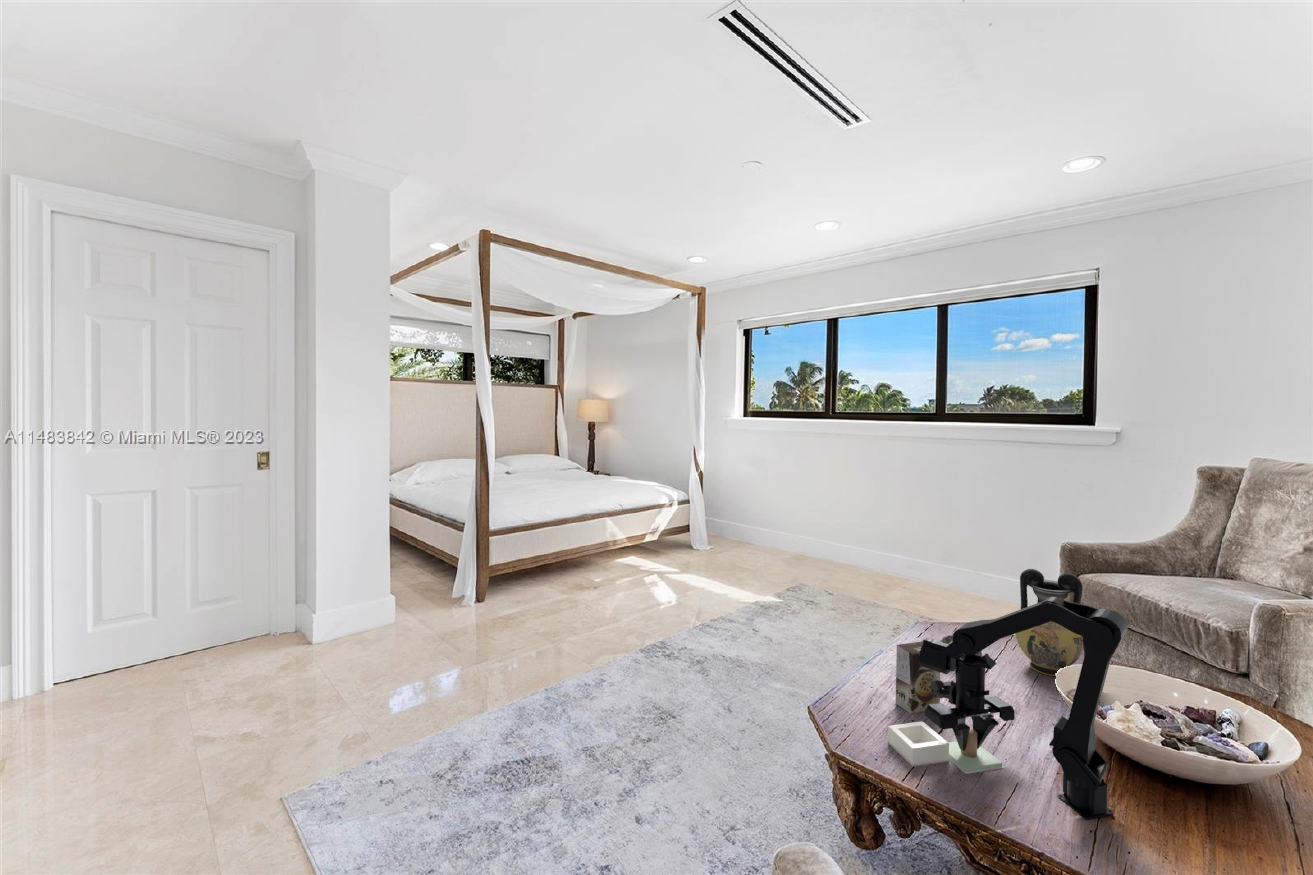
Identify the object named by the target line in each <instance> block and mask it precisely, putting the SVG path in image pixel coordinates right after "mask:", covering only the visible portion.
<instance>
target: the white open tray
mask: <svg viewBox="0 0 1313 875" xmlns="http://www.w3.org/2000/svg"><path fill="white" fill-rule="evenodd" d="M887 744H888V745H889V746H890V747H891V748H893V749H894V750H895V752H896V753H898V755H900V756H901V757H902V758H903V759H904V760H905V761H906V763H908V764H909V765H910V766H911V768H913V767H920V766H927V765H936V764H941V763H947V762H949V761H950V760H949V741H947V740H946V739H945V738H943V737H942V736H941V735H940V734H939V733H937V732H936V731H935V730H934V729H932V728H931V727H930V726H929V725H928V724H926V723H925V722H924V721H915V722H908V723H900V724H899V723H898V724H891V725H888V726H887Z"/></svg>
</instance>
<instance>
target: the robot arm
mask: <svg viewBox="0 0 1313 875" xmlns="http://www.w3.org/2000/svg"><path fill="white" fill-rule="evenodd" d="M1051 621H1052V622H1054V623H1057V624H1059V625H1061V626H1063V627H1064V628H1066V629H1068V630H1070V631H1071V632H1073V633H1075V634H1078V635H1081V636H1083V648H1084V649H1083V655H1084V657H1083V659H1082V660H1083V661H1082V664H1081V669H1080V673H1079V676H1078V680H1077V684H1076V688H1075V692H1074V696H1073V700H1072V704H1071V708H1070V712H1069V716H1068V718H1066V717H1064V716H1063V715H1061V716H1060V717H1059V718H1058V721H1057V722H1056V723H1055V725H1054V727H1053V735H1052V736H1053V737H1052V739H1051V741H1050V742H1049V744H1048V745H1049V747H1052V756H1053V757H1054V759H1055V760H1056V762H1057V763H1058V764H1059V765H1060V766H1061V769H1062V772H1063V773H1062V775H1063V776H1062V793H1058V794H1057V798H1058V799H1059V800H1061V801H1062V802H1063V803H1065V804H1066V805H1068V807H1070V808H1071V809H1073V810H1074V812H1077V813H1078V814H1079V815H1080V816H1081V817H1082V818H1084V819H1085V820H1091V819H1097V818H1104V817H1109V816H1114V811H1113V809H1111V808H1109V807H1108V783H1106V782H1105V779H1104V776H1105V773H1106V772H1107V770H1108V768H1109V765H1110V764H1109V762H1108V761H1107V760H1106V759H1105V757H1104V756H1103V755H1102V754H1101V753H1100V752H1099V751H1098V750H1097V749H1096V731H1095V730H1096V729H1095V721H1096V716H1097V712H1098V708H1099V706H1100V701H1101V698H1102V695H1103V691H1104V690H1103V689H1104V686H1105V682H1106V678H1107V675H1108V670H1109V667H1110V663H1111V660H1112V658H1113V657H1114V655H1115V653H1116V651H1117V649H1118V648H1119V646H1120V644H1121V642H1122V641H1123V639H1124V637H1125V635H1126V633H1127V631H1128V627H1129V626H1128V621H1127V620H1125V618H1124V616H1122V615H1121V614H1120V613H1119V612H1117V611H1115V610H1114V609H1110V608H1096V607H1093V606H1091V605H1087V604H1082V603H1080V604H1078V603H1073V601H1069V600H1066V599H1064V600H1063V599H1060V598H1057V597H1049V598H1047V599H1046V600H1044V601H1042V602H1039V603H1034V604H1032V605H1029V606H1028V607H1026V608H1023V609H1021V608H1020V609H1019V610H1015V611H1013V612H1010V613H1007V614H1005V615H1002V616H999V617H997V618H992V619H979V620H975V621H969V622H966V623H965V624H963V625H962V626H960V627H959V628H958V629H956V630H955V631H953V641H951V642H950V643H949V644H946V643H942V642H939V641H940V640H935V639H933V638H931V637H929V636H928V637H925V638H924V639H922V641H923V645H922V647H921V650H920V654H919V656H918V660H919V664H920V666H922V667H925V668H928V669H931V670H934V671H937V672H940V674H943V675H949V673H950V672H954V671H955V679H953V680H951V681H943V680H941V679H940V681H939V680H933V681H931V690H932V693H933V695H937V696H939V698H940V699H948V700H947V701H948V703H949V704H950V705H954V707H952V708H951V707H948V706H947V705H945V704H943V703H942V702H940V703H937V704H929V705H927V706H926V707H925V711H924V716H925V717H926V718H927V719H928V720H929V721H930V722H932V723H933V724H935V726H937V727H938V728H939V729H941V730H949V729H951V730H952V731H953V733H954V736H955V741H957V742H958V745H959V748H960V749H961V750H962V751H965V748H966V745H967V740H968V735H969V731H970V728H971V727H970V726H969V725H968V724H967V723H966V719H967V718H971V720H972V721H971V722H972V729H973V730H975V731H976V732H977V749H979V747H980V746H981V747H982V744H983V743H984V741H985V740H986V739H987V738H988V736H989V734H991V732H992V731H993V729H994V728H995V727H996V726H999V725H1000V724H999V723H1000V722H999V721H998V720H997V719H995V715H994V714H996V713H999V715H998V716H999V718H1000V719H1001V720H1003V721H1004V722H1009V721H1014V720H1015V714H1016V711H1015V709H1014V707H1013V706H1012V705H1011V704H1009V702H1006V701H1005V700H1003V699H1002V698H1000V697H999V696H997V695H993V696H989V695H990V690H989V689H988V688H986V684H985V683H986V681H985V680H986V669H987V670H992V669H993V668H994V667H995V666H996V665H997V663H996V661H995V660H994V659H993V658H992V657H990V655H989V654H988V653H985V654H983V655H982V656H981V655H977V653H978V652H980V651H984V650H985V649H987V648H988V647H990V646H992V644H994V643H997V641H999V640H1001V639H1004V638H1007V637H1010V636H1013V635H1016V633H1019V632H1022V631H1025V630H1028V629H1030V628H1033V627H1036V626H1039V625H1042V624H1045V623H1048V622H1051ZM963 653H964V654H963Z"/></svg>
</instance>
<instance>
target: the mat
mask: <svg viewBox="0 0 1313 875" xmlns="http://www.w3.org/2000/svg"><path fill="white" fill-rule="evenodd" d="M949 761H950V762H951V763H952V764H953V765H954V766H956V767H957V768H958V769H959V770H961V772H962V773H964V774H965V775H967V774H974V773H980V772H986V771H988V772H989V771H993V770H1000V769H1001V770H1002V769H1006V766H1005V765H1003V764H1002V767H995V768H989V769H982V770H976V771H969V772H965V771H964V770H963V769H962V768H961V767H960V766H958V765H957V764H956V763H955V762H954V761H953V760H951V759H950V758H949Z"/></svg>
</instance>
